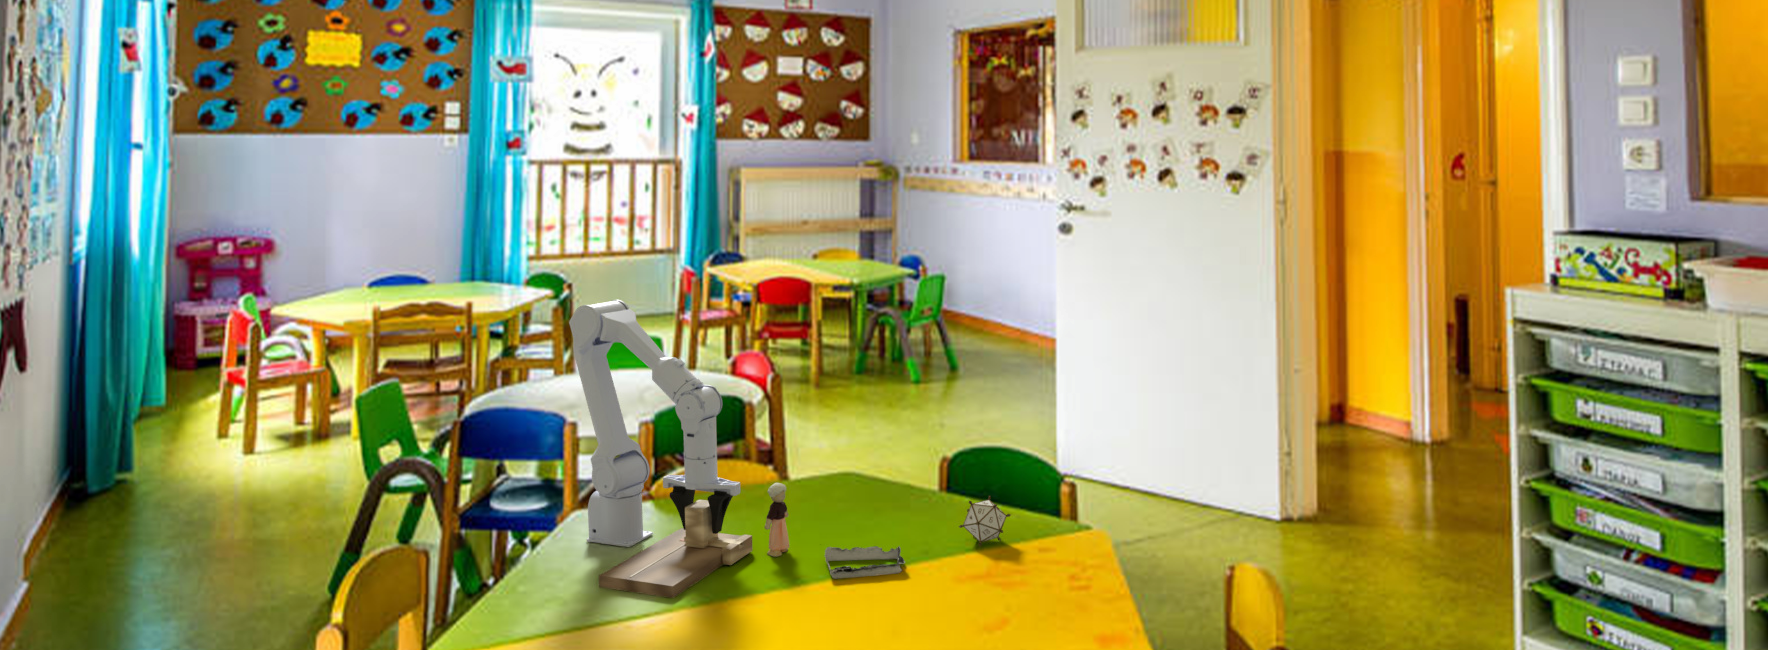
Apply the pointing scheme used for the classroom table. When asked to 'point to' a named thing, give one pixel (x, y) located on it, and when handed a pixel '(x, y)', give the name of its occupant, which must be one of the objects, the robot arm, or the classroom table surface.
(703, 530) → the beige l-shaped block
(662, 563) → the board
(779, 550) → the grandmother figurine
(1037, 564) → the classroom table surface
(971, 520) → the game die
